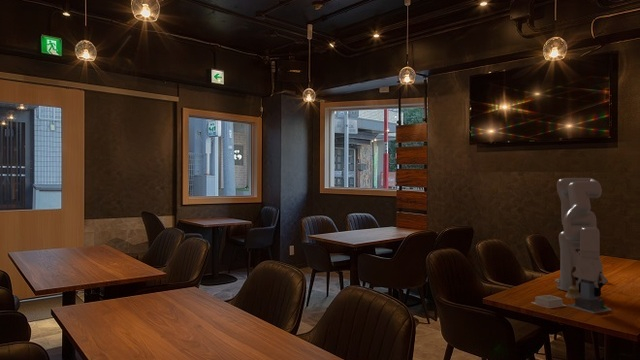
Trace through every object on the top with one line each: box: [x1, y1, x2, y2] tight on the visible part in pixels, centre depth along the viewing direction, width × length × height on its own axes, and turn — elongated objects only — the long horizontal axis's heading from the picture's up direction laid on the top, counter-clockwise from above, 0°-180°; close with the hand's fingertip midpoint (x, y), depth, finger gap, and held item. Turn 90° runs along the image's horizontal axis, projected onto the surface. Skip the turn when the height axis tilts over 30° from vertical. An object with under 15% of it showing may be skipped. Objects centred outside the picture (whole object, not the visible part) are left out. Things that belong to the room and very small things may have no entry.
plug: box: [580, 280, 599, 301], centre depth 193 cm, size 4×6×12 cm, turn 113°
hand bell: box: [564, 267, 581, 300], centre depth 212 cm, size 8×8×16 cm
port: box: [567, 297, 612, 314], centre depth 193 cm, size 12×12×5 cm
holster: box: [530, 294, 568, 309], centre depth 200 cm, size 10×12×4 cm
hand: (589, 293), depth 193 cm, fingers open, 6 cm apart
